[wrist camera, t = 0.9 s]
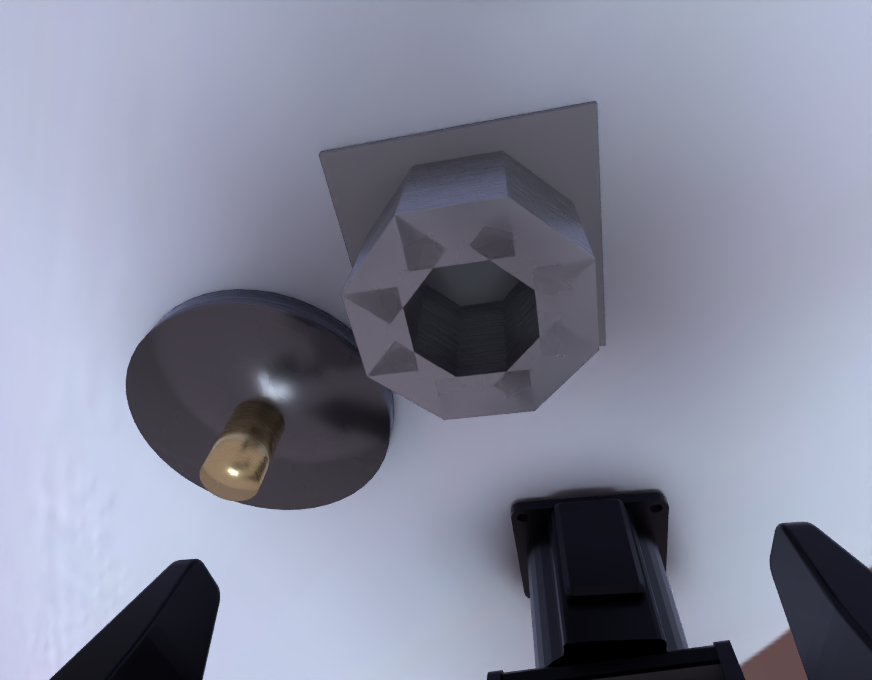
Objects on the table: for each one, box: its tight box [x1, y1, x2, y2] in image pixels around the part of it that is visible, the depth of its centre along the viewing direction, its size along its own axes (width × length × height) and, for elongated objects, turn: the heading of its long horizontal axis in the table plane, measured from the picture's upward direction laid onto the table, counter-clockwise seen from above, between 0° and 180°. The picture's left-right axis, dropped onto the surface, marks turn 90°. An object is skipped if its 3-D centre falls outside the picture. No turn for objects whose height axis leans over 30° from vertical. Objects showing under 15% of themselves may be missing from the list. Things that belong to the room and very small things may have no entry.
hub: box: [126, 290, 394, 510], centre depth 21 cm, size 10×10×4 cm
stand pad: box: [319, 101, 606, 346], centre depth 18 cm, size 8×8×1 cm
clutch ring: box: [341, 150, 599, 420], centre depth 16 cm, size 6×6×4 cm
